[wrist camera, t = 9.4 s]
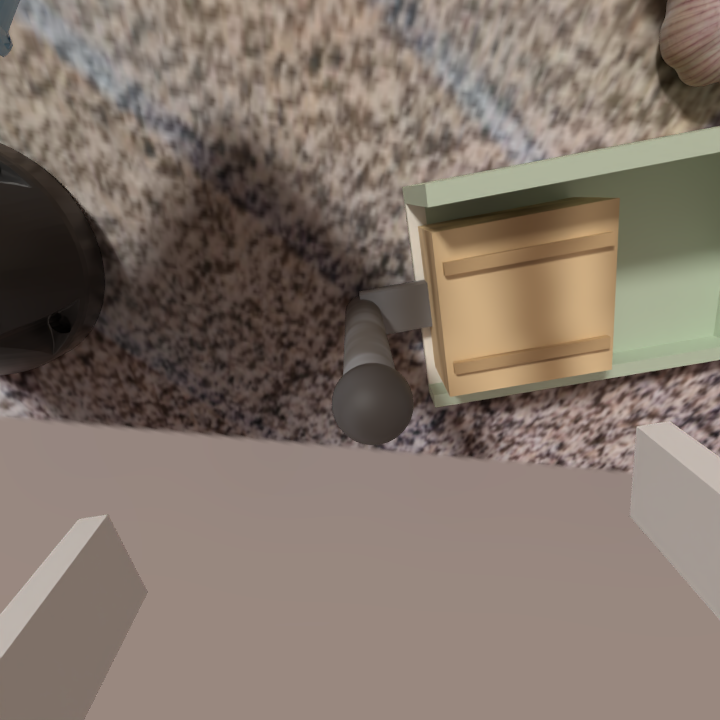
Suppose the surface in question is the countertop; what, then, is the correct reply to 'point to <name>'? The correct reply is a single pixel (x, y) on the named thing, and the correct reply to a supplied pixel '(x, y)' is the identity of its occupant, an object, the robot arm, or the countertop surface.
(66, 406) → the countertop surface
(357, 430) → the tan boxy piece
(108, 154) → the countertop surface
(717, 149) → the bay
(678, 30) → the garlic bulb
